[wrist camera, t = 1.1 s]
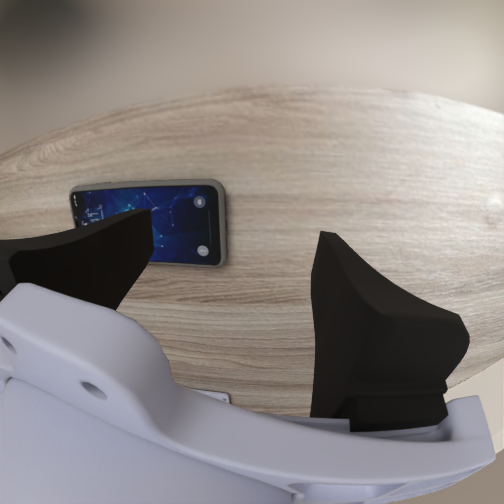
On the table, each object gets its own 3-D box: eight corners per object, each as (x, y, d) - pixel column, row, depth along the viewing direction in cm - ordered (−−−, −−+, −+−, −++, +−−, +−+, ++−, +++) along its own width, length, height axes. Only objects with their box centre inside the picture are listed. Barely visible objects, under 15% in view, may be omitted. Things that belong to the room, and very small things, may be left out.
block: (441, 365, 26) (470, 433, 17) (556, 336, 23) (583, 373, 13) (402, 428, 32) (413, 484, 23) (519, 394, 29) (537, 431, 19)
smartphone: (226, 271, 23) (80, 260, 24) (228, 265, 24) (86, 256, 25) (223, 179, 19) (65, 187, 21) (225, 176, 20) (72, 185, 22)
